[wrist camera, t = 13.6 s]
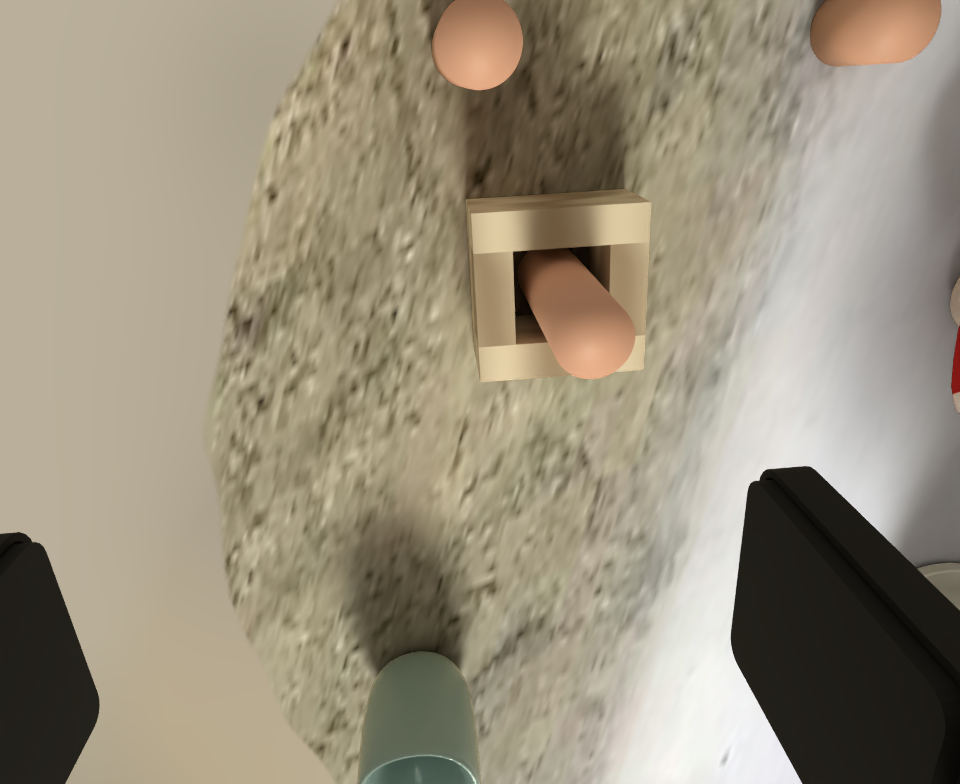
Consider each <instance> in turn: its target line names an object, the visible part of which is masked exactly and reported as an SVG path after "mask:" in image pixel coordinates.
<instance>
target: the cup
mask: <svg viewBox="0 0 960 784" xmlns="http://www.w3.org/2000/svg"><path fill="white" fill-rule="evenodd" d="M357 784H481V775H480V762H479V750H478V739H477V730H476V723H475V716H474V709H473V704H472V699H471V695H470V692H469V689H468V686H467V684H466V681H465V678H464V677H463V675H462V673H461V672H460V670H459V669H458V667H457V666H456V665H455V664H454V663H453V662H452V661H451V660H450V659H448V658H447V657H445V656H443V655H441V654H438V653H435V652H429V651H418V652H411V653H408V654H404V655H402V656H399V657H397V658H395V659H393V660H392V661H390V662H389V663H388V664H387V665H386V666H385V667H384V668H383V669H382V670H381V671H380V672H379V674H378V676H377V677H376V679H375V681H374V683H373V685H372V688H371V691H370V694H369V698H368V702H367V706H366V710H365V715H364V721H363V728H362V736H361V745H360V755H359V765H358V777H357Z"/></svg>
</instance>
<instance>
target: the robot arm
mask: <svg viewBox="0 0 960 784" xmlns="http://www.w3.org/2000/svg"><path fill="white" fill-rule="evenodd" d="M731 646H732V650H733V654H734V657H735V660H736V662H737V665H738V666H739V668H740V670H741V672H742V674H743V676H744V677H745V679H746V681H747V683H748V685H749V687H750V688H751V690H752V692H753V694H754V696H755V698H756V699H757V701H758V703H759V705H760V707H761V709H762V710H763V712H764V714H765V716H766V718H767V720H768V721H769V723H770V725H771V727H772V729H773V731H774V732H775V734H776V736H777V738H778V740H779V742H780V743H781V745H782V747H783V749H784V751H785V752H786V754H787V756H788V758H789V760H790V762H791V763H792V765H793V767H794V769H795V771H796V773H797V774H798V776H799V778H800V780H801V782H802V784H960V563H940V564H932V565H928V566H924V567H920V568H916V567H915V566H914V565H913V564H911V563H910V562H909V561H908V560H907V559H906V558H905V557H904V556H903V555H902V554H901V553H900V552H899V551H898V550H897V549H896V548H895V547H894V546H893V545H892V544H891V543H890V542H889V541H888V540H887V539H886V538H885V537H884V536H883V535H882V534H881V533H880V532H879V531H877V530H876V529H875V528H874V527H873V526H872V525H871V524H870V523H869V522H868V521H867V520H866V519H865V518H864V517H863V516H862V515H861V514H860V513H859V512H858V511H857V510H856V509H855V508H854V507H853V506H852V505H851V504H850V503H849V502H848V501H847V500H846V499H845V498H843V497H842V496H841V495H840V494H839V493H838V492H837V491H836V490H835V489H834V488H833V487H832V486H831V485H830V484H829V483H828V482H827V481H826V480H825V479H824V478H823V477H822V476H821V475H820V474H819V473H818V472H817V471H816V470H814V469H813V468H811V467H807V466H803V467H791V468H779V469H767V470H766V471H764V472H763V473H762V475H761V477H760V481H753V482H752V483H751V484H750V486H749V488H748V493H747V502H746V510H745V519H744V527H743V536H742V544H741V553H740V561H739V570H738V578H737V587H736V595H735V604H734V612H733V621H732V629H731ZM98 714H99V696H98V693H97V690H96V687H95V685H94V682H93V679H92V676H91V673H90V671H89V668H88V666H87V663H86V660H85V657H84V654H83V652H82V649H81V646H80V643H79V640H78V638H77V635H76V632H75V629H74V627H73V624H72V621H71V618H70V616H69V613H68V610H67V607H66V605H65V602H64V599H63V596H62V594H61V591H60V588H59V586H58V583H57V580H56V577H55V575H54V572H53V569H52V566H51V564H50V561H49V558H48V556H47V553H46V551H45V549H44V547H43V546H42V545H41V544H40V543H36V542H32V541H31V539H30V538H29V537H28V536H27V535H26V534H23V533H20V532H17V533H6V534H0V784H65V783H66V781H67V779H68V777H69V775H70V773H71V771H72V769H73V767H74V765H75V763H76V762H77V759H78V758H79V756H80V754H81V752H82V750H83V748H84V746H85V744H86V742H87V740H88V738H89V736H90V735H91V733H92V730H93V729H94V727H95V724H96V722H97V718H98Z"/></svg>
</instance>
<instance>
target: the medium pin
mask: <svg viewBox="0 0 960 784" xmlns="http://www.w3.org/2000/svg"><path fill="white" fill-rule="evenodd" d="M522 48H523V35H522V29H521V26H520V22H519V20H518V18H517V16H516V14H515V13H514V11H513V10H512V8H511V7H510V6H509V5H508V4H507V3H506V2H505V1H503V0H455V1H454V2H452V3H451V4H450V5H449V6H448V7H447V9H446V10H445V11H444V13H443V15H442V16H441V18H440V21H439V23H438V25H437V28H436V30H435V32H434V35H433V39H432V57H433V61H434V64H435V66H436V68H437V70H438V71H439V73H440V74H441V75H442V76H443V77H444V78H445V79H446V80H447V81H448V82H450V83H452V84H454V85H456V86H460V87H464V88H468V89H473V90H486V89H490V88H493V87H496V86H498V85H500V84H501V83H503V82H504V81H505V80H506V79H507V78H508V77H510V75H511V74H512V73H513V72H514V70H515V68H516V67H517V65H518V62H519V60H520V57H521V53H522Z"/></svg>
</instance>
